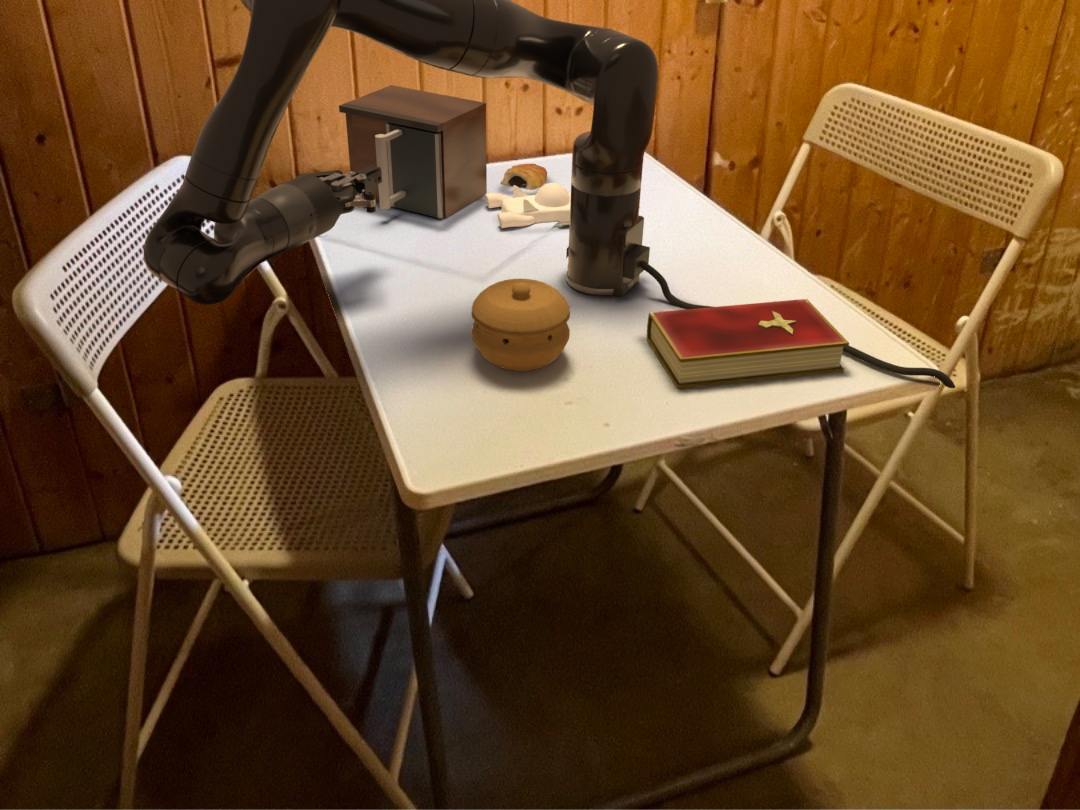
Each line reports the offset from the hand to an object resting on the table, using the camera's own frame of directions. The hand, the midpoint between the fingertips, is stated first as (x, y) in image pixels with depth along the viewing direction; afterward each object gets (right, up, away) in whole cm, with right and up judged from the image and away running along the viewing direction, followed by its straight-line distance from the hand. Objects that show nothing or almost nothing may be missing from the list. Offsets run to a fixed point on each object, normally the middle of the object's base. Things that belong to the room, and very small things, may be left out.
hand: (376, 173), depth 137 cm
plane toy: (+24, -2, +22) cm, 33 cm away
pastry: (+20, +5, +34) cm, 40 cm away
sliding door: (+2, -3, +18) cm, 18 cm away
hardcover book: (+47, -25, -12) cm, 55 cm away
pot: (+20, -26, -14) cm, 35 cm away
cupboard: (+3, +2, +27) cm, 27 cm away
